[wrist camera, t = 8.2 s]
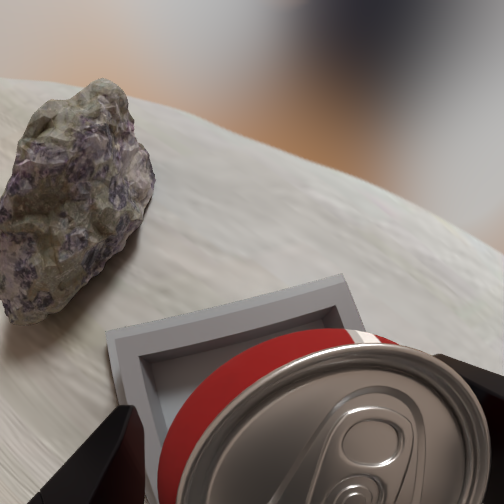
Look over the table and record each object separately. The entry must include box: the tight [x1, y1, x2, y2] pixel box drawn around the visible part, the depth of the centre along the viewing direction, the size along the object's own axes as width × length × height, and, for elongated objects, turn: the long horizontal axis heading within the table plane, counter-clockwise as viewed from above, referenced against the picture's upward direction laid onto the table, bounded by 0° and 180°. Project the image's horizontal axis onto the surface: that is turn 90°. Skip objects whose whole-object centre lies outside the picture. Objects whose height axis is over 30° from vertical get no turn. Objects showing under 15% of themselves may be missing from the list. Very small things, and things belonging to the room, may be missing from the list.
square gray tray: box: [105, 273, 366, 504], centre depth 14 cm, size 14×14×4 cm
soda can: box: [157, 328, 491, 504], centre depth 9 cm, size 7×7×12 cm
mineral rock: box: [0, 78, 156, 326], centre depth 15 cm, size 13×11×10 cm
